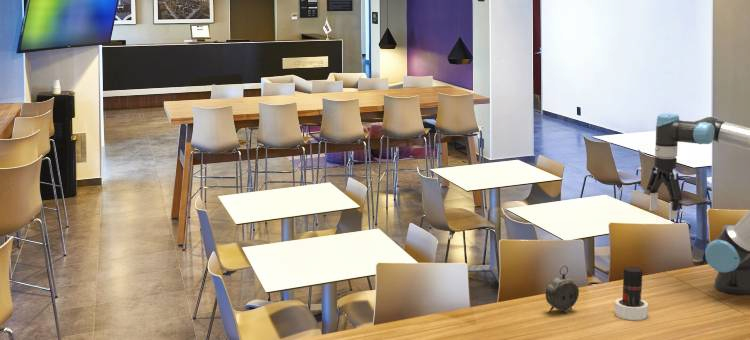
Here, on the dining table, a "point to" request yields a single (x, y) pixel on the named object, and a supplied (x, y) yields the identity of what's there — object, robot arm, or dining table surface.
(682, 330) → the dining table surface
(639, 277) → the deodorant
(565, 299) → the alarm clock
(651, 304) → the dining table surface
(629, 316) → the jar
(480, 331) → the dining table surface
